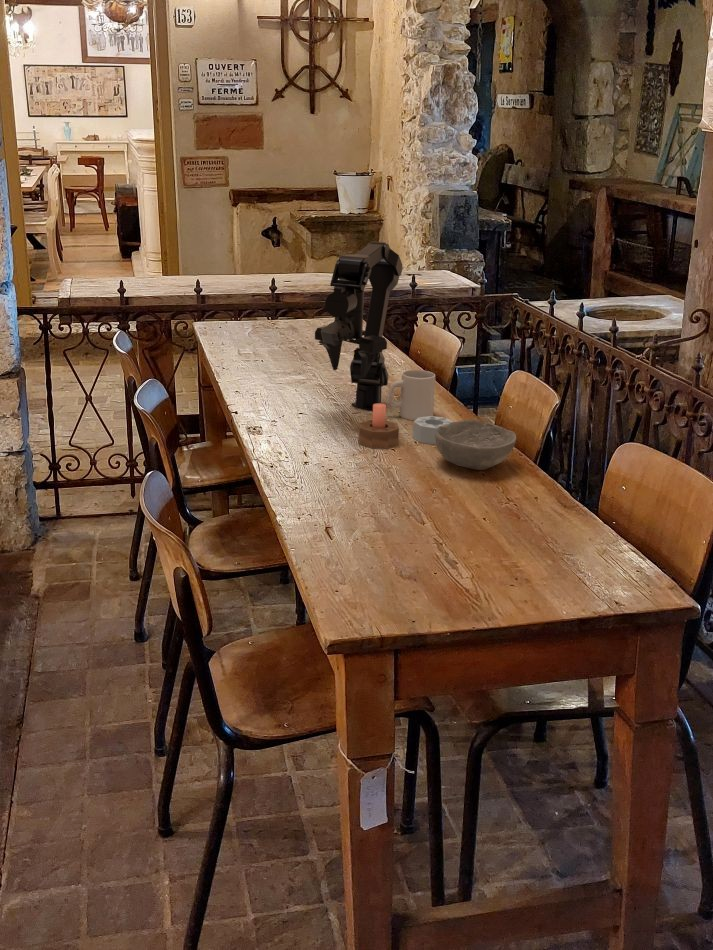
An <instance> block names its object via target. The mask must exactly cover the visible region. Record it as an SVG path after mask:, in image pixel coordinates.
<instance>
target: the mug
mask: <svg viewBox="0 0 713 950" xmlns="http://www.w3.org/2000/svg"><path fill="white" fill-rule="evenodd" d="M435 386H436V374H435V373H434V372H432V371H428V370H423V369H410V370H405V371H403V372H402V373H401V380H395V381H393V382H392V383H391V384H390V385H389V389H388V402H389V404H390V406H392V407H394V408H399V416H400V417H401V418H402V419H404V420H408V421H415V420H416V419H417V418H419V417H427V416H434V407H435V392H436V391H435V389H436V387H435ZM395 388H400V399H399V400H397V401H396V400H394V398H393V397H394V396H393V392H394V390H395Z"/></svg>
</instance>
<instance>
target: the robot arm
mask: <svg viewBox="0 0 713 950" xmlns="http://www.w3.org/2000/svg"><path fill="white" fill-rule="evenodd" d="M402 273H403V262H402V259H401V258H400V255H399V254H398V253H397V252H395V251H394V250H392V248H391V247H390V244H389V243H386V242H383V241H372V240H371V241H370V242H367V244H366V245H365V246H364V247H363V248H361V249H360V250H359V251H357V252H355V254H354V253H352V254H351V253H350V254H342V255H340V256H339V257H338V259H337V260H336V262H335V263H334V269H333V272H332V276H331V281H330V285H329V286H330V287H333V292H331V293H329V294H328V295H327V297H326V300H325V303H324V305H325V310H326V311H327V313H328V314H329V315H331V316H332V317H333V318H334V321H333V322H331V323H329V324H327V325H324V326H319V327H317V328H316V330H315V331H314V340H316V341H318V343H319V344H321V346H322V347H323V348H325V349H326V353H327V355H328V358H329V361H330V364H331V367H332V370H333V371H337V370H338V369H339V367H338V366H339V363H340V357H341V351H342V345H343V342H347V343H352V344H355V345H358V347H356V348H355V349H354V351H353V359H352V360H351V362H350V366H349V372H350V380H351V381H350V382H351V384H356V391H355V402H351V406H354V407H356V408H360V409H364V410H366V411H367V410H368V411H373V404H376V403H381V404H385V403H384V402H382V389H383V387H384V386H385V387H387V386H388V384H389V383H388V382H389V372H388V370H387V367H386V364H385V360H386V359H385V356H384V353H383V351H384V350H388V341H387V339H386V338H385V336H384V337H383V335H384V328H385V322H386V317H387V311H388V306H389V300H390V294H391V292H392V291H393V290H394V289H395V288H396V286H397V285H398V284H399V279H400V276H402ZM368 282H369V283H370V286H371V287H372V288H371V292H370V293H371V294H370V300H369V304H368V305H369V306H368V311H367V313H364V304H365V303H364V301H365V299H364V298H365V288H366V286H367V284H368ZM364 319H366V322H365V329H364V328H363V325H364V324H363V323H364ZM363 329H364V330H363Z"/></svg>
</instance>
